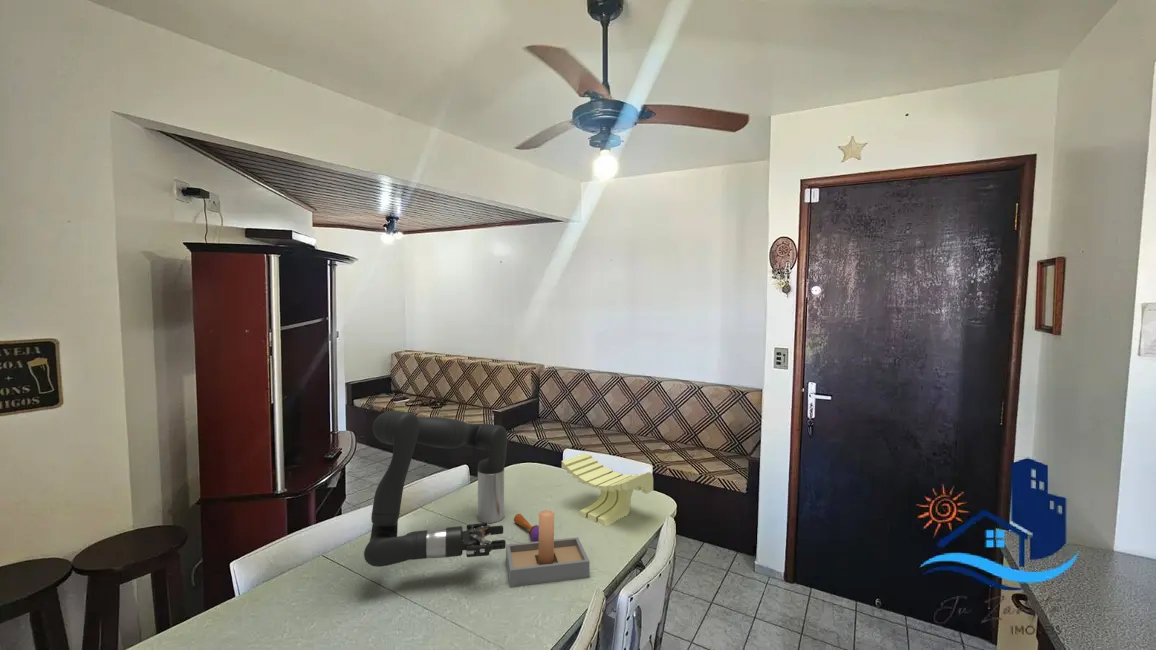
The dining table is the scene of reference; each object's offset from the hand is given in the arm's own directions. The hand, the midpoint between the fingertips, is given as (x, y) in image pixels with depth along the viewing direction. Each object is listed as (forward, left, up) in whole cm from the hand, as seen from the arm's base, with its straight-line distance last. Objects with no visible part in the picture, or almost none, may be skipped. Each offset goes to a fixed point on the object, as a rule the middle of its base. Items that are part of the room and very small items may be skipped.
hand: (504, 536), depth 134 cm
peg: (0, +12, -10) cm, 16 cm away
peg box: (0, +12, -10) cm, 16 cm away
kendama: (-21, +10, -11) cm, 26 cm away
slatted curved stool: (-31, +39, -11) cm, 51 cm away
